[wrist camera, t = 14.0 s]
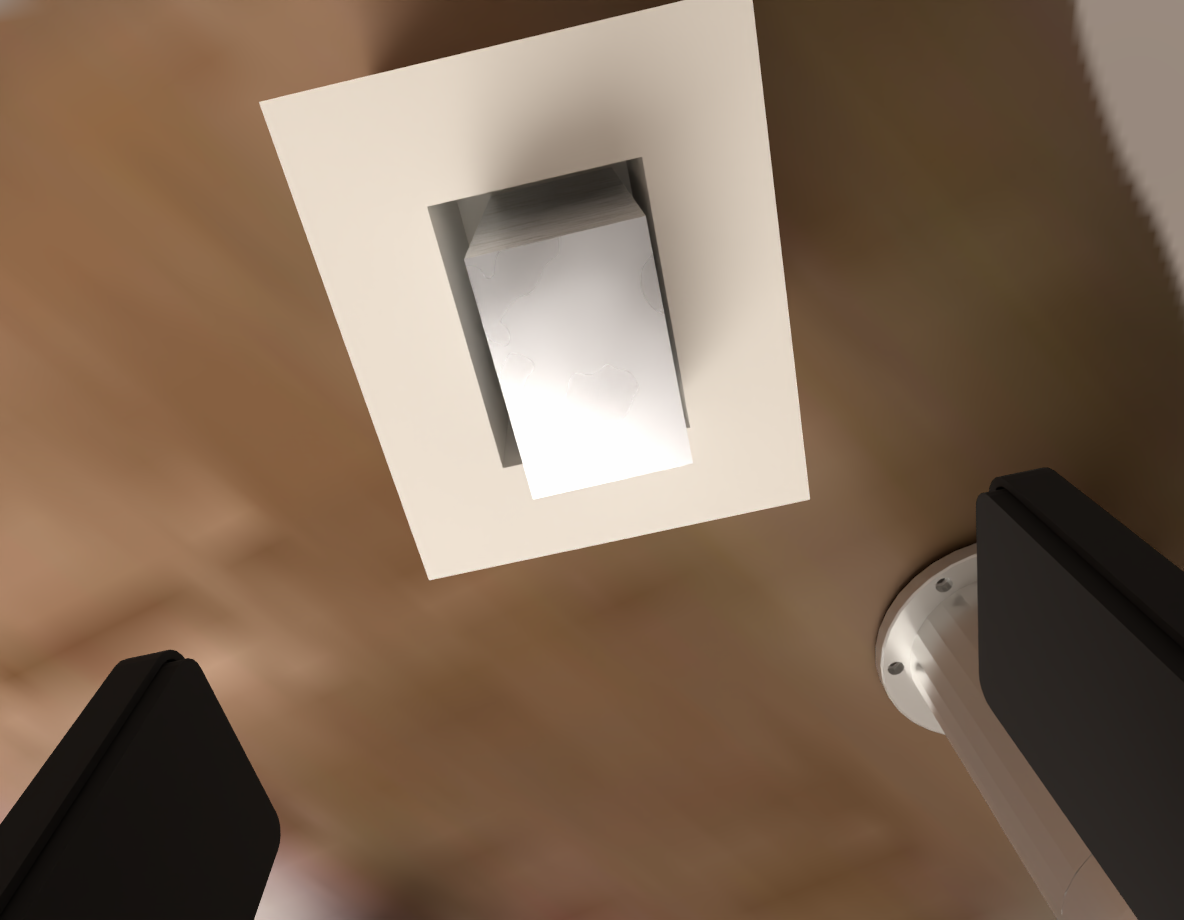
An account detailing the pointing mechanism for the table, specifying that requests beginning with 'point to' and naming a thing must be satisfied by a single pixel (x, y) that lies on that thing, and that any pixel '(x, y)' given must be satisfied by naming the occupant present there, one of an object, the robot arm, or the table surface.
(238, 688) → the table surface
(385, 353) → the white box with slot
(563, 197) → the white rectangular block
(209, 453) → the table surface
